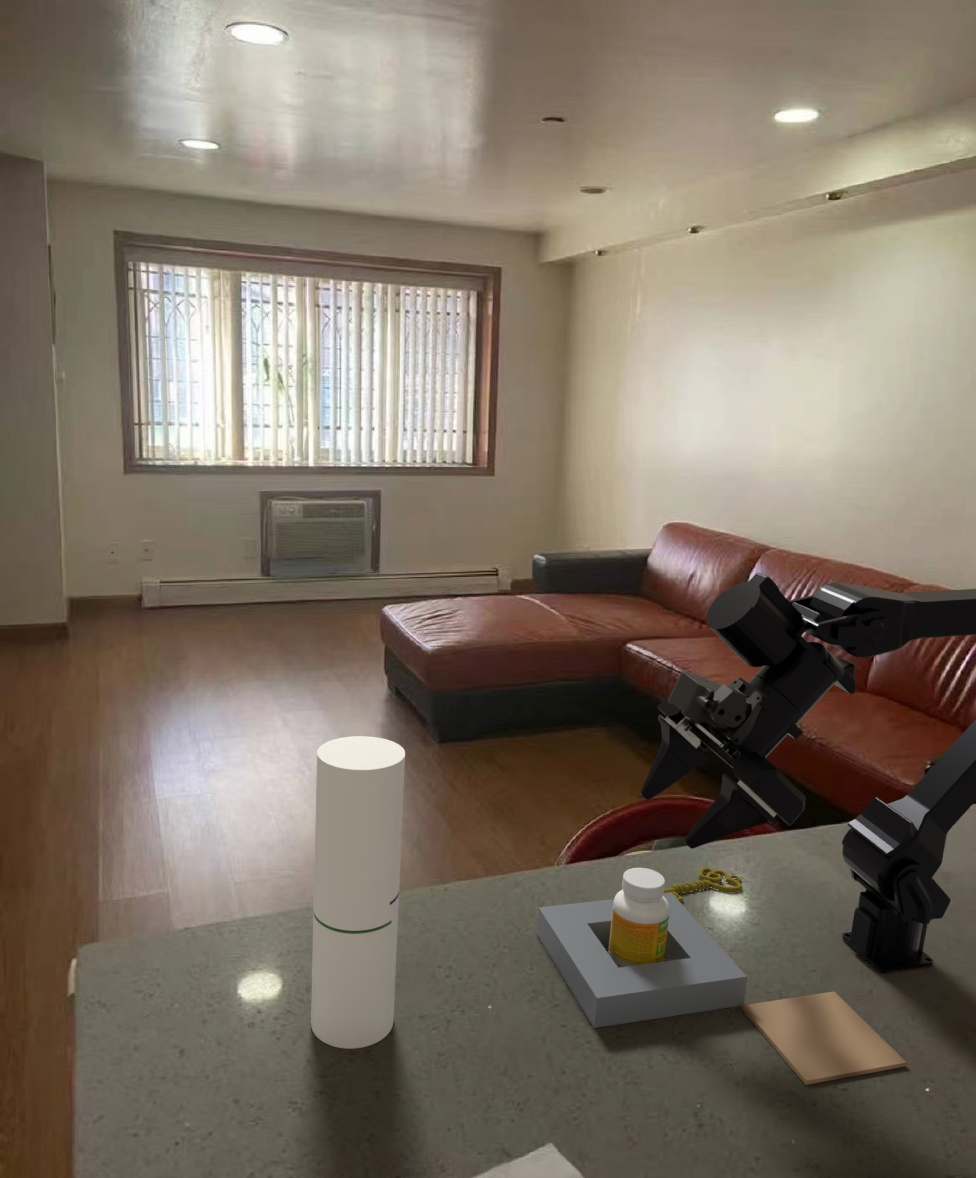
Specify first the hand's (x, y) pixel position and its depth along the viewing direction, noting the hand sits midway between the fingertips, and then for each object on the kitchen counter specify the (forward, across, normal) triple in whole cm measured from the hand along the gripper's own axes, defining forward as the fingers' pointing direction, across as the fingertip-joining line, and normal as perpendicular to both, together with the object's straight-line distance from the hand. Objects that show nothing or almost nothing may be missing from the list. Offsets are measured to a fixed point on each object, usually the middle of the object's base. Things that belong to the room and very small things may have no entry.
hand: (664, 819), depth 91 cm
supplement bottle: (+13, -1, +10) cm, 16 cm away
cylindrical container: (+31, +2, -11) cm, 33 cm away
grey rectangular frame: (+13, -1, +10) cm, 16 cm away
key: (+5, -14, +21) cm, 26 cm away
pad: (+5, +12, +19) cm, 23 cm away
